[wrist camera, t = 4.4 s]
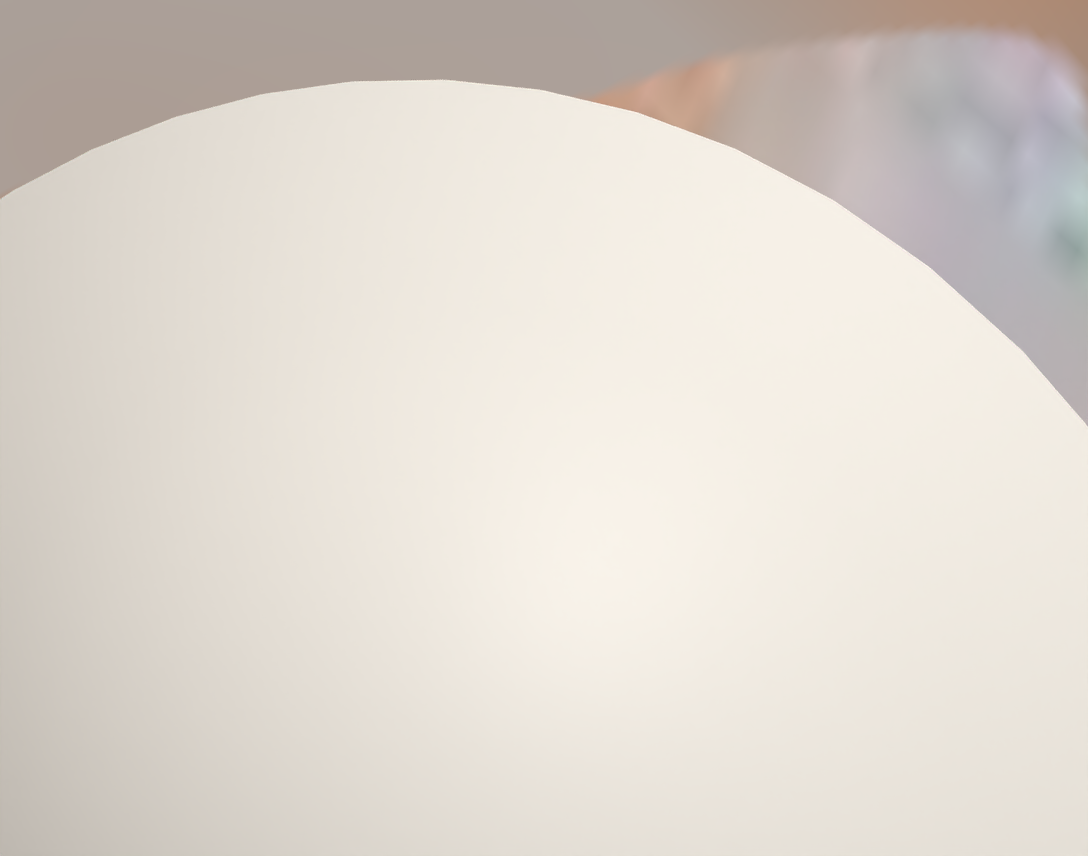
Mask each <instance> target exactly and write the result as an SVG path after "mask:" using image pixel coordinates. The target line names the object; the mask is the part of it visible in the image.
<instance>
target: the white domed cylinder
mask: <svg viewBox="0 0 1088 856" xmlns="http://www.w3.org/2000/svg"><path fill="white" fill-rule="evenodd" d="M0 856H1088V426H1087V425H1086V424H1085V423H1084V422H1083V421H1082V419H1081V418H1080V417H1079V416H1078V415H1077V414H1076V412H1075V411H1074V410H1073V409H1072V408H1071V407H1070V405H1069V404H1068V403H1067V402H1066V401H1065V400H1064V399H1063V397H1062V396H1061V395H1060V394H1059V393H1058V392H1057V390H1056V389H1055V388H1054V387H1053V386H1052V385H1051V383H1050V382H1049V381H1048V380H1047V379H1046V378H1045V377H1044V375H1043V374H1042V373H1041V372H1040V371H1039V370H1038V368H1037V367H1036V366H1035V365H1034V364H1033V363H1032V362H1031V360H1030V359H1029V358H1028V357H1027V356H1026V355H1025V353H1024V352H1023V351H1022V350H1021V349H1020V348H1018V347H1017V346H1016V345H1015V344H1014V343H1013V342H1012V341H1011V340H1010V339H1008V338H1007V337H1006V336H1005V335H1004V334H1003V333H1002V332H1001V331H1000V330H998V329H997V328H996V327H995V326H994V325H993V324H992V323H991V322H990V321H989V320H987V319H986V318H985V317H984V316H983V315H982V314H981V313H980V312H979V311H977V310H976V309H975V308H974V307H973V306H972V305H971V304H970V303H969V302H967V301H966V300H965V299H964V298H963V297H962V296H961V295H960V294H959V293H957V292H956V291H955V290H954V289H953V288H952V287H951V286H950V285H949V284H947V283H946V282H945V281H944V280H943V279H942V278H941V277H940V276H939V275H937V274H936V273H935V272H934V271H933V270H932V269H931V268H930V267H928V266H927V265H925V264H924V263H923V262H921V261H920V260H918V259H917V258H915V257H914V256H913V255H911V254H910V253H908V252H907V251H905V250H904V249H903V248H901V247H900V246H898V245H897V244H895V243H894V242H892V241H891V240H890V239H888V238H887V237H885V236H884V235H882V234H881V233H880V232H878V231H877V230H875V229H874V228H872V227H871V226H870V225H868V224H867V223H865V222H864V221H862V220H861V219H859V218H858V217H857V216H855V215H854V214H852V213H851V212H849V211H848V210H847V209H845V208H844V207H842V206H841V205H839V204H838V203H836V202H835V201H834V200H832V199H830V198H828V197H826V196H824V195H822V194H820V193H818V192H817V191H815V190H813V189H811V188H809V187H807V186H805V185H803V184H801V183H799V182H797V181H796V180H794V179H792V178H790V177H788V176H786V175H784V174H782V173H780V172H778V171H776V170H775V169H773V168H771V167H769V166H767V165H765V164H763V163H761V162H759V161H757V160H755V159H754V158H752V157H750V156H748V155H746V154H744V153H742V152H740V151H738V150H736V149H734V148H731V147H729V146H726V145H723V144H721V143H718V142H715V141H713V140H710V139H707V138H705V137H702V136H699V135H696V134H694V133H691V132H688V131H686V130H683V129H680V128H678V127H675V126H672V125H670V124H667V123H664V122H662V121H659V120H656V119H653V118H651V117H648V116H645V115H643V114H640V113H637V112H633V111H629V110H624V109H620V108H616V107H612V106H607V105H603V104H599V103H595V102H590V101H586V100H582V99H577V98H573V97H569V96H564V95H560V94H556V93H552V92H547V91H543V90H536V89H528V88H518V87H508V86H498V85H490V84H480V83H470V82H461V81H451V80H413V81H411V80H410V81H356V82H346V83H339V84H331V85H324V86H317V87H310V88H303V89H296V90H289V91H282V92H274V93H267V94H261V95H258V96H254V97H250V98H246V99H242V100H238V101H235V102H231V103H227V104H223V105H219V106H216V107H212V108H208V109H204V110H201V111H197V112H193V113H189V114H185V115H181V116H178V117H174V118H172V119H169V120H167V121H164V122H161V123H159V124H156V125H154V126H152V127H149V128H146V129H144V130H141V131H138V132H136V133H133V134H131V135H128V136H125V137H123V138H120V139H118V140H115V141H113V142H110V143H107V144H105V145H102V146H100V147H97V148H95V149H92V150H90V151H88V152H86V153H84V154H82V155H81V156H79V157H77V158H75V159H73V160H71V161H69V162H67V163H65V164H64V165H62V166H59V167H58V168H56V169H54V170H52V171H50V172H48V173H46V174H44V175H42V176H40V177H39V178H37V179H35V180H33V181H31V182H29V183H27V184H25V185H23V186H21V187H19V188H17V189H15V190H14V191H12V192H10V193H9V194H7V195H6V196H4V197H3V198H1V199H0Z"/></svg>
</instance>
